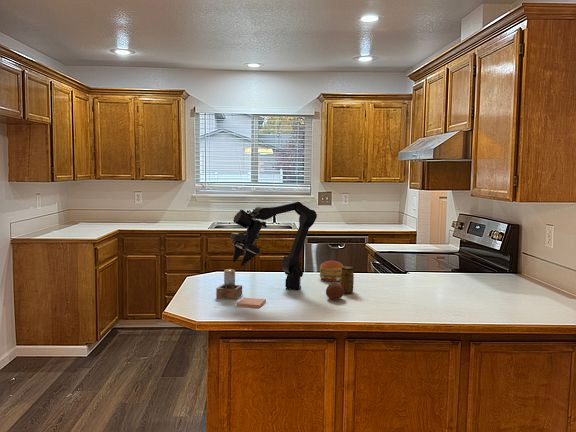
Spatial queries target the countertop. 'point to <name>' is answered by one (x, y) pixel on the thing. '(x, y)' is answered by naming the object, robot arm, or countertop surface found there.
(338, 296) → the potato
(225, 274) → the silver and gold cylinder
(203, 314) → the countertop surface
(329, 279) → the burger
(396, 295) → the countertop surface
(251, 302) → the terracotta tile
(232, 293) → the socket block
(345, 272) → the condiment
